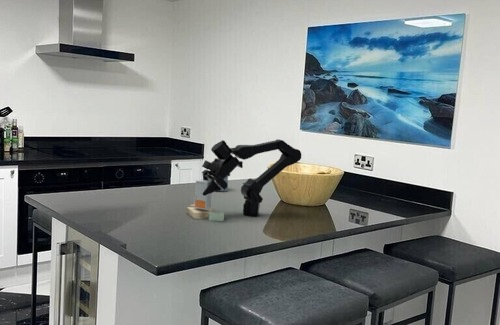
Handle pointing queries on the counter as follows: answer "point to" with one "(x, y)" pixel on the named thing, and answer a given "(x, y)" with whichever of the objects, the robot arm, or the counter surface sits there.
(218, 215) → the sage brick
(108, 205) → the counter surface
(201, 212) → the beech slab
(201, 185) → the skincare box
